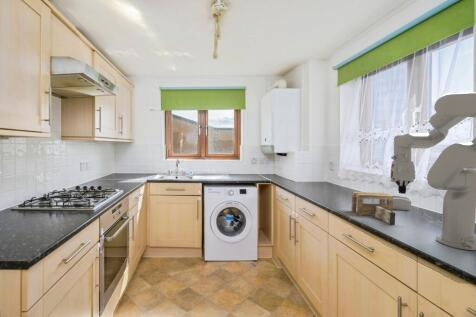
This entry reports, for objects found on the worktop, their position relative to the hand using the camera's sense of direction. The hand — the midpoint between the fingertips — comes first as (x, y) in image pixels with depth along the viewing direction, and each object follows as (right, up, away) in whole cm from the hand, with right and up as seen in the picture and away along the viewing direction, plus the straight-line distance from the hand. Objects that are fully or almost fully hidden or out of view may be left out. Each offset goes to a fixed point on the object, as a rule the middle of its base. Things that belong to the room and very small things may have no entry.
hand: (402, 193), depth 120 cm
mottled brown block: (-9, -15, +1) cm, 17 cm away
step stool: (-8, -14, +14) cm, 22 cm away
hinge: (+15, -15, +26) cm, 33 cm away
